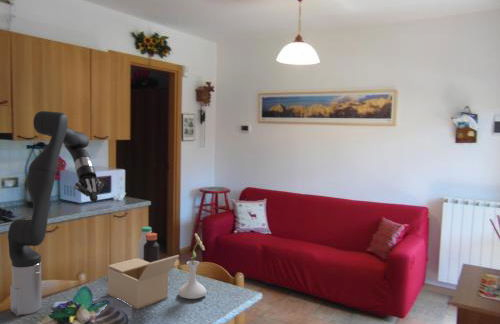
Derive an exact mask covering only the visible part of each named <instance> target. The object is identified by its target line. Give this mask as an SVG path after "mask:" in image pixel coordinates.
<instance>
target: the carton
mask: <svg viewBox="0 0 500 324" xmlns="http://www.w3.org/2000/svg"><path fill="white" fill-rule="evenodd" d="M146 267H147V266H145V267H141V268H138V269H134V270H131V271H127V272H124V273H121V272H119V271H117V270H114V269H112V268H110V267H108V269H107V275H108V276H107V277H108V278H107V279H108V280H107V286H108V288H107V290H108V291H107V293H108V295H109V296H110V297H112V298H114V299H116V298H119V299H121V300H123V301H125V302H126V303H128V304H129V305H131V306H132V308H134V309H135V310H137V311H138V310H141V309H143V308H146V307H148V306H151V305H154V304H157V303H159V302H162V301H163V300H167V299H168V297H169V296H168V295H169V293H168V292H169V290H168V289H169V287H168V285H169V284H168V283H169V278H168V277H169V272H167V273H164V274H161V275H158V276H154V277H151V278H148V279H145V280H142V281H139V278H140V277H141V275H142V273H143V272H144V270H145V268H146ZM129 305H128V306H129ZM131 306H130V307H131Z"/></svg>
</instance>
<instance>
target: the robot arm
mask: <svg viewBox="0 0 500 324" xmlns="http://www.w3.org/2000/svg"><path fill="white" fill-rule="evenodd" d="M68 119H69V118H68V116H67V115H66V113H65V112H64V113H63V112H60V111H48V110H41V111H38V112H36V114H35V115H34V117H33V129H34V130H35V132H36V133H38V134H39V135H44V136H47V137H50V140H49V141H48V142H49V143H48V144H47V146H46V147H45V148H44V149H43V151H41V152H40V153H39V154H38V155H37V156H36V157H35V158H34V159H33V160H32V162H31V163H30V165H29V167H28V171H27V176H26V181H25V182H26V183H25V185H26V188H27V191H28V193H29V196H30V198H31V201H32V216H31V219H27V218H26V219H25V218H18V219H17V218H16V219H15V220H13V221H12V222H11V223H10V225H9V227H8V232H7V240H8V241H7V243H8V251H9V255H8V256H9V258H10V261H11V283H12V284H11V285H9V287H10V288H9V293H10V294H9V296H10V301H9V302H10V312H12V313H13V314H14V315H15V316H23V315H29V314H33V313H36V312H38V311H40V310H41V309H42V304H43V302H42V301H43V300H42V256H41V253H39V252H37V251H36V250H34V249H33V248H31V247H38V246H40V245H41V244H42V243H43V242H44V240H45V236H46V234H47V229H48V219H49V212H50V211H49V209H50V203H51V197H52V192H53V188H54V184H55V180H56V175H57V169H58V164H59V158H60V155H61V151H62V146H63V145H64V147H65V149H66V150H67V151H68V152H69V154H70V155H71V157H72V160H73V164H74V168H75V169H74V170H75V172H76V176H77V179H78V182H75V184H74V189H75V190H77V191H78V192H79V193H81V194H83V195H84V196H88V198H89V200H90V202H91V203H96V202H97V201H98V200H99V198H98V197H99V196H98V194H99V193H100V192H101V190H102V188H103V187H104V185H105V181H103V180H102V181H101V180H100V179H99V178H98V176H97V173H96V170H95V167H94V164H93V161H92V159H91V156H90V154H89V151H88V150H86V149H85V148H87V147H88V146H89V144H90V139H89V137H88V136H87V135H86V134H85V133H84V132H80V131H75V130H74V129H72V128H70V127H68V125H69V124H68V122H69V120H68ZM97 186H98V188H97Z"/></svg>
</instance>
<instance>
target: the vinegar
mask: <svg viewBox="0 0 500 324" xmlns="http://www.w3.org/2000/svg"><path fill="white" fill-rule="evenodd" d="M157 240H158V233H156V232H151V233H148V234H146V243H145V244H144V256H143V260H144V261H147V262H150V263H151V262H154V261H158V260H160V244H159V243H158V242H157Z"/></svg>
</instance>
